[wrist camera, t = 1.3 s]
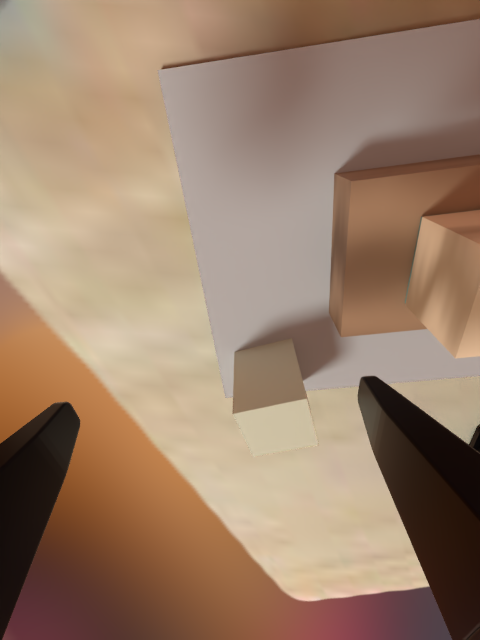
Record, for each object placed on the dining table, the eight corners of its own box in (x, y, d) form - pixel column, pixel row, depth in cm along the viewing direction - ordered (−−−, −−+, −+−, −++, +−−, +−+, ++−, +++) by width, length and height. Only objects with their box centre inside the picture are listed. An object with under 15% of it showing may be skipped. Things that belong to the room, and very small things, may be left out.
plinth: (457, 296, 21) (491, 322, 18) (327, 309, 22) (340, 337, 19) (500, 150, 16) (555, 154, 14) (332, 172, 17) (351, 181, 14)
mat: (542, 366, 25) (546, 369, 24) (225, 394, 26) (225, 397, 26) (749, -23, 13) (763, -27, 13) (159, 71, 15) (157, 70, 14)
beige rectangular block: (303, 380, 25) (319, 445, 20) (250, 392, 26) (252, 457, 21) (291, 338, 23) (306, 398, 18) (234, 352, 23) (232, 414, 18)
